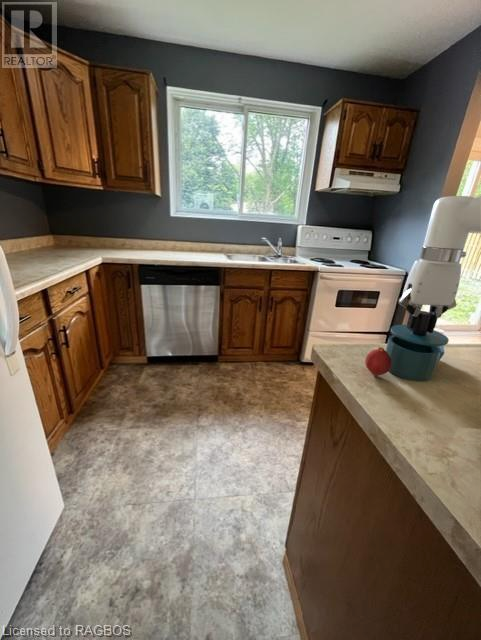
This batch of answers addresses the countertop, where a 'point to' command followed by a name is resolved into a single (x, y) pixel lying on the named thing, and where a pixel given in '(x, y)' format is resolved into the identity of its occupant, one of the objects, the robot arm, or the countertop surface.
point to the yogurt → (441, 352)
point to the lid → (420, 332)
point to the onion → (378, 361)
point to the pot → (412, 359)
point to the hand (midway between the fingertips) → (419, 330)
